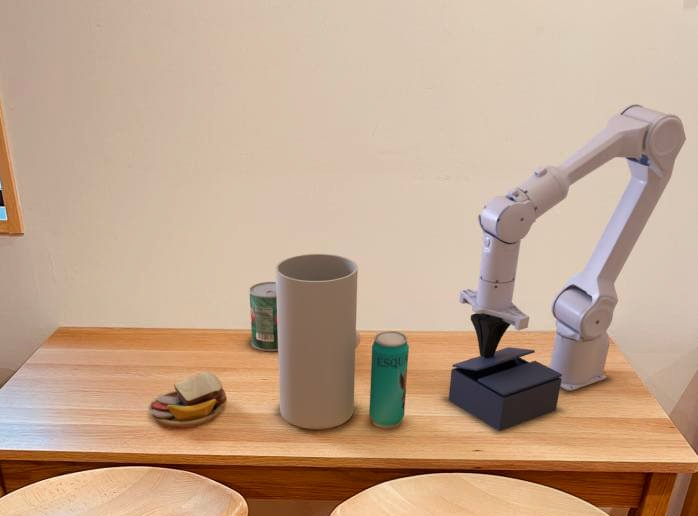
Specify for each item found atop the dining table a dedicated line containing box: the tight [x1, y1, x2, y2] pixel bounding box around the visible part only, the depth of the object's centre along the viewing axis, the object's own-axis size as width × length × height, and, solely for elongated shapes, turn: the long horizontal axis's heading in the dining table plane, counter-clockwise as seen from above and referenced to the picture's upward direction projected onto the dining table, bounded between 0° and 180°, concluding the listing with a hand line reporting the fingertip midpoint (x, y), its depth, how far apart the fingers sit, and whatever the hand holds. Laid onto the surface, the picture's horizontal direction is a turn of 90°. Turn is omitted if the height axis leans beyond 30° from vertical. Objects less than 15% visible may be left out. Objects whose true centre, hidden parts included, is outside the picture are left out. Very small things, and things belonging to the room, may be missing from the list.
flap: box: [452, 346, 536, 371], centre depth 143 cm, size 6×13×1 cm, turn 121°
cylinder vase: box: [275, 253, 359, 430], centre depth 136 cm, size 12×12×25 cm
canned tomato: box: [248, 281, 278, 352], centre depth 164 cm, size 8×8×11 cm
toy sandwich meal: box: [147, 371, 227, 428], centre depth 144 cm, size 12×14×5 cm
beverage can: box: [369, 330, 410, 430], centre depth 136 cm, size 6×6×15 cm
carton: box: [447, 357, 562, 432], centre depth 143 cm, size 13×13×7 cm
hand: (487, 355), depth 144 cm, fingers closed
